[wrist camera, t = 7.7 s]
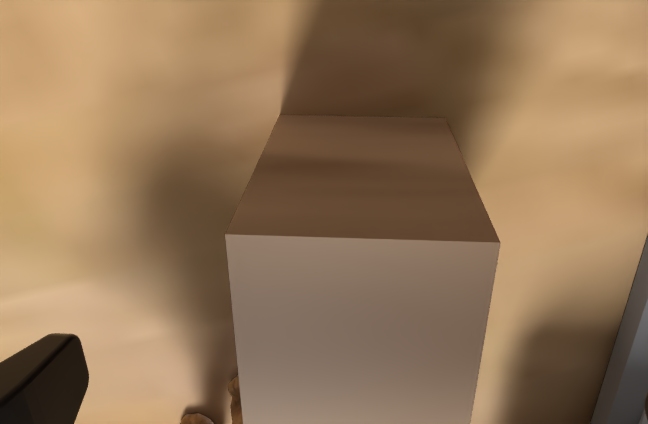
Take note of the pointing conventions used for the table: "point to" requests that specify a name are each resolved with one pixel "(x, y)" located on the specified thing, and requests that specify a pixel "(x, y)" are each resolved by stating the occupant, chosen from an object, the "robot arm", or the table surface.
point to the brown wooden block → (360, 274)
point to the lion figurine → (202, 423)
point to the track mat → (628, 360)
